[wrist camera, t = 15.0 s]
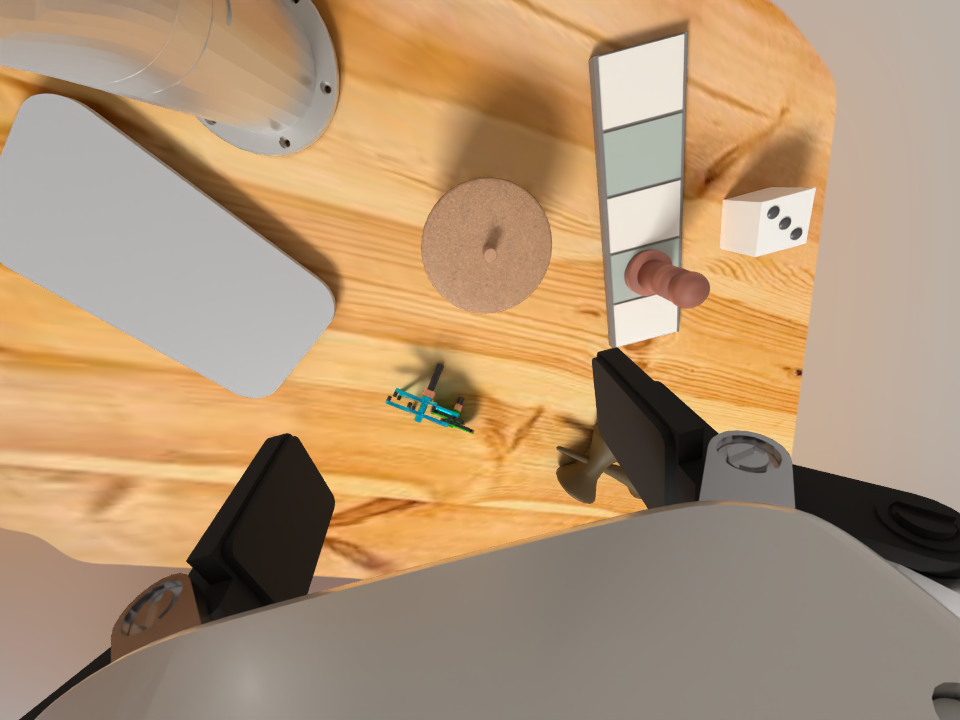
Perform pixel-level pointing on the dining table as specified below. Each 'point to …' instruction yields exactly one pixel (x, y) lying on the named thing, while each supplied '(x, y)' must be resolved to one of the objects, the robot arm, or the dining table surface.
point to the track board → (639, 174)
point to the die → (766, 220)
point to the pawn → (665, 279)
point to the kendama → (590, 470)
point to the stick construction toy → (432, 405)
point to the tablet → (151, 250)
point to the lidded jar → (486, 245)
